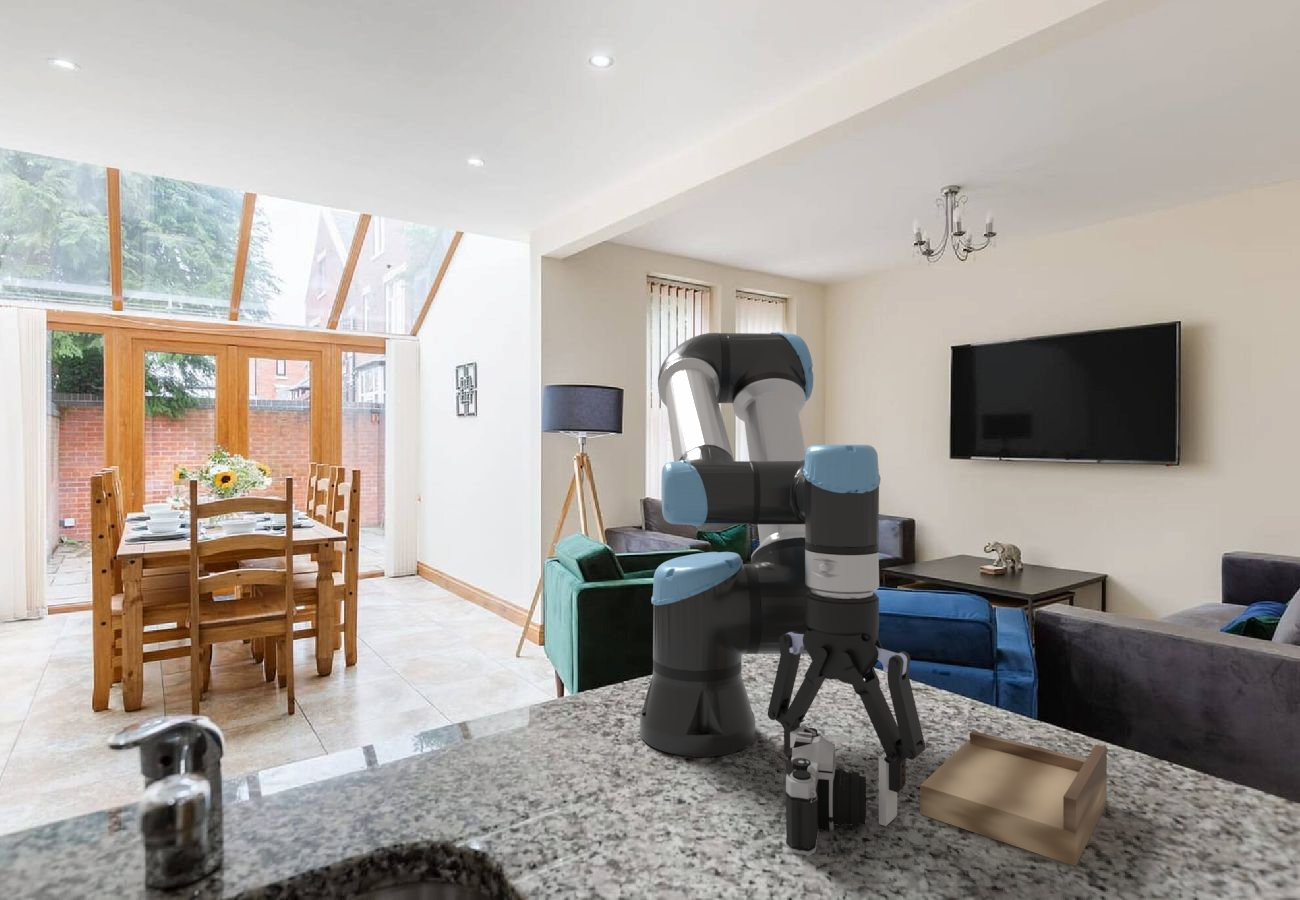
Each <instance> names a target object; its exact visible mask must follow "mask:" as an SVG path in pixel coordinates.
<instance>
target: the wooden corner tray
mask: <svg viewBox="0 0 1300 900" xmlns="http://www.w3.org/2000/svg"><path fill="white" fill-rule="evenodd" d="M1107 749H1108V747H1107V746H1105V745H1099V744H1095V745H1094V747H1093V748H1092V750H1091V751H1090V753H1089V755H1088V756H1087V758H1084V757H1079V756H1077V755H1076V756H1075V755H1071V754H1069V753H1063V752H1060V751H1056V750H1052V749H1049V748H1045V747H1040V746H1036V745H1032V744H1029V743H1024V742H1019V741H1016V740H1011V739H1007V738H1004V737H999V736H995V735H991V734H987V733H984V732H978V731H975V730H972V731H970V733H969V739H967V740H966V741H965V742H964V743H963V744H962V745H961V746H960V747H959V748H958V749H957V750H956V751H955V752H954V753H952V754H951V755H950V757H948V758H947V759H946V760H945V761H944V762H943V763H942V764H941V765H940V766H939V767H938V768H937V769H935V771H934V772H933V773H931V774H930V775H929V776H928V778H926V779H925V780H923V782H922V783H921V784H920V785H919V786H920V787H919V788H920V792H919V793H920V799H919V801H920V804H919V805H920V812H919V814H920V815H921V816H924V817H928V818H930V819H933V820H937V821H940V822H942V823H946V824H949V825H952V826H955V827H957V828H960V829H963V830H965V831H966V830H967V831H968V832H969V831H970V832H973V833H975V834H978V835H981V836H984V837H987V838H990V839H994V840H996V841H999V842H1001V843H1005V844H1009V845H1011V846H1013V847H1017V848H1019V849H1022V850H1026V851H1028V852H1032V853H1035V854H1038V855H1040V856H1043V857H1046V858H1049V859H1052V860H1056V861H1059V862H1062V863H1064V864H1067V865H1070V866H1073V867H1077V866H1078V863H1079V860H1080V858H1081V857H1082V854H1083V853H1084V851H1085V849H1086V846H1087V845H1088V842H1089V840H1090V838H1091V837H1092V834H1093V832H1094V831H1095V828H1096V827H1097V824H1098V822H1099V820H1100V817H1101V816H1102V813H1103V812H1104V809H1105V808H1106V805H1107V795H1108V794H1107V791H1108V790H1107V788H1108V787H1107V785H1108V784H1107V783H1108V781H1107V780H1108V777H1107V776H1108V773H1107V772H1108V771H1107V770H1108V764H1107V759H1108V756H1107V754H1108V751H1107Z"/></svg>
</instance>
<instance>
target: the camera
mask: <svg viewBox="0 0 1300 900" xmlns="http://www.w3.org/2000/svg"><path fill="white" fill-rule="evenodd" d="M837 759H838V758H837V757H836V745H835V743H833V742H832V741H830V740H829V739H826V738H824V737H823V735H822V734H821V733H819V732H818V729H816V728H814V727H809V728H806V729H804V732H798V733H797V736H796V740H795V742H794V745H793V747H792V748H790V750H789V753H788V757H787V760H786V761H785V764H784V765H785V766H784V770H785V773H786V777H785V810H786V811H785V814H786V815H785V817H786V818H785V819H786V820H785V827H786V828H785V830H786V833H785V834H786V836H785V837H786V838H785V844H786V845H785V846H786V848H787V849H788V850H789V851H790V852H791V854H796V855H797V854H798V855H804V856H810V855H811V856H812V854H814V853H816V849H817V842H818V837H819V831H825V832H826V831H827V832H830V831H833V832H834V828H835V825H836V826H837V827H843V826H846V825H849V826H850V827H851V828H857V829H858V828H860V825H864V826H866V825H867V776H865V775H860V771H853V770H851V771H847V770H844V768H841V767H839V768H836V766H837Z"/></svg>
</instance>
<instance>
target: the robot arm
mask: <svg viewBox="0 0 1300 900" xmlns="http://www.w3.org/2000/svg"><path fill="white" fill-rule="evenodd" d="M813 367H814V366H813V360H812V356H811V352H810V349H809V347H808V345H807V343H806V341H805V340H804V339H803V338H802V337H801V336H799V335H798V334H794V333H783V332H780V331H771V332H770V333H765V332H764V333H760V332H759V333H753V332H752V333H751V332H750V333H747V332H745V333H741V332H739V333H738V332H737V333H735V332H734V333H733V332H731V333H729V332H709V333H702V334H699V335H695V336H693V337H690V338H688V339H687V340H685V341H683V342H682V343H680V344H678V346H676V347H675V348H674V349H673V350H672V351H670V353H669V354H668V355H667V356H666V358H665V359H664V361H663V363H661V366H660V369H659V372H658V376H657V389H658V394H659V397H660V400H661V402H662V403H663V405H665V407H666V408H667V415H668V416H667V417H668V424H669V431H670V440H671V450H672V457H673V461H669V462H667V463H664V464H663V467H662V468H661V469H662V470H661V493H660V494H661V512H662V517H663V519H664V521H666V523H668V524H671V525H682V526H685V525H688V526H689V525H690V526H693V527H702V526H731V525H734V526H735V525H757V531H758V537H759V538H758V539H759V546H758V547H756V549H755V550H754V551H753V552H752V554H751V557H750V558H751V559H750V563H743V562H744V561H743V559H742V557H741V555H740V554H739V553H737V552H732V551H731V552H730V551H721V552H718V551H709V552H701V553H700V552H699V553H694V554H693V553H692V554H688V555H687V554H686V555H683V556H678V557H675V558H672V559H669V560H666V561H664V562H663V563H661V564H660V565H658V567H657V568H656V570H655V572H654V574H653V585H652V586H653V588H652V596H651V599H650V600H651V604H652V605H653V608H652V609H653V615H652V616H653V617H652V618H653V620H652V621H653V622H652V623H653V625H652V628H653V630H652V631H653V632H652V633H653V635H652V637H653V638H652V640H653V641H652V642H653V643H652V661H653V662H652V664H653V665H652V677H651V680H650V684H649V685H648V686H649V687H648V690H647V693H646V695H645V699H644V702H643V708H642V709H641V710H640V711H641V712H640V716H639V734H640V735H639V736H640V737H641V739H642V741H644V742H645V743H646V744H647V745H649V746H650V747H652V748H654V749H656V750H659V751H662V752H664V753H668V754H672V755H678V756H684V757H698V758H699V757H715V756H724V755H729V754H733V753H736V752H738V751H741V750H743V749H746V748H747V747H749V746H750V745H751V744H752V743H753V742H754V741H755V738H756V719H755V718H756V717H755V714H754V712H753V710H752V706H751V703H750V699H749V698H750V697H749V696H748V692H747V688H746V686H745V683H744V679H743V676H742V674H743V673H742V659H743V658H742V655H779V654H780V657H779V659H778V660H779V661H778V666H777V668H776V669H777V670H776V674H775V679H774V683H773V687H772V691H771V692H772V693H771V696H770V700H769V706H768V709H767V716H768V718H769V720H771V721H777V722H778V723H779V724H780V725H781V726H782V728H783V753H784V756H785V757H786V758H788V753H789V750H790V748H792V747H793V745H794V742H795V740H796V736H797V733H798V732H804V729H806V728H810V727H809V726H808V725H804V724H803V725H801V724H802V723H803V722H805V721H806V719H805V717H806V715H807V713H808V711H809V709H810V708H811V706H812V704H813V702H814V701H815V698H816V696H817V695H818V693H819V691H820V690H821V687H822V685H823V684H824V682H825V680H827V679H828V680H831V681H832V680H838V681H840V682H842V683H844V684H848V685H852V688H853V689H854V692H855V694H857V695H859V697H860V700H861V702H862V704H863V706H864V709H865V710H866V714H867V715H868V718H869V720H870V722H871V724H872V726H873V729H874V731H875V733H876V736H877V738H878V739H879V742H880V744H881V747H882V748H883V749H882V750H883V751H884V754H882V755H881V756H880V757H878V824H879V825H881V826H884V827H887V826H888V825H889V824H890V823H891V822H892V821H893V820H894V819H895V818H896V817H897V816H898V793H900V792H901V791H902V790H903V789H904V788H905V786H906V784H907V783H906V782H907V778H906V777H907V775H906V772H907V769H906V767H907V763H906V762H907V760H910V761H912V760H913V761H914V760H915V759H916V758H917V757H918V756H920V755H921V754H922V753H923V752H925V750H926V744H925V738H924V736H923V735H924V734H923V731H922V727H921V722H920V717H919V713H918V710H917V705H916V701H915V696H914V692H913V689H912V685H911V679H910V675H909V673H910V664H911V655H910V654H909V653H908V652H906V651H899V652H895V651H891V650H888V649H884V648H883V646H882V644H881V642H880V638H879V630H880V629H879V628H880V598H879V596H877V593H875V591H877V590H878V589H879V588H880V566H879V564H880V562H879V561H880V560H879V543H880V542H879V539H880V538H879V534H880V533H879V532H880V529H879V528H880V525H879V524H880V519H879V518H880V517H879V515H880V485H881V476H880V472H879V471H880V469H879V458H878V457H879V456H878V452H877V449H876V448H875V447H873V446H872V445H870V444H813V445H810V446H808V447H807V449H806V446H805V441H804V436H803V432H802V430H803V429H802V426H801V424H802V423H801V419H800V413H801V412H802V410H803V409H804V407H805V405H806V403H807V401H809V399H810V398H811V395H812V393H813V388H814V372H813V369H812V368H813ZM720 404H732V409H733V412H734V414H735V416H736V417H737V418H738V419H739V420H740V421H742V422H744V428H745V436H746V437H745V438H746V444H747V445H746V446H747V451H748V459H749V461H747V460H745V461H744V460H735V459H734V455H733V454H734V453H733V450H732V448H731V444H730V440H729V436H728V433H727V430H726V426H725V422H724V419H723V415H722V411H721V407H720ZM802 654H803V655H804V654H808V655H809V658H810V659H811V662H810V664H809V666H808V668H807V670H806V671H805V674H804V679H803V680H802V683H801V685H800V686H799V688H798V689H797V692H796V693H795V696H794V697H793V700H792V696H793V692H794V687H795V682H796V680H797V679H796V678H797V673H798V669H799V665H800V661H801V655H802ZM878 662H880V663H881V664H882V669H883V672H884V673H885V674H887V687H888V691H889V694H890V698H891V703H892V707H893V712H894V715H893V712H892V709H891V708H890V706H889V704H888V701H887V699H886V698H885V695H884V693H883V691H882V688H881V687H880V684H881V683H880V679H879V676H878V674H877V672H876V670H875V668H874V667H875V666H876V665H877V663H878ZM894 716H895V717H894Z"/></svg>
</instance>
